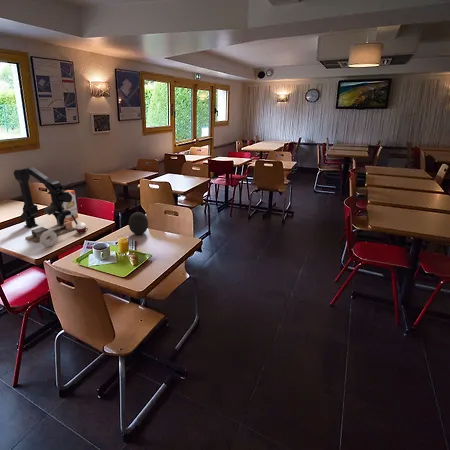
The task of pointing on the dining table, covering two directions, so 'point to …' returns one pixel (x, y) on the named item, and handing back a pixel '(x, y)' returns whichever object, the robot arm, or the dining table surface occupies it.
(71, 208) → the cracker box
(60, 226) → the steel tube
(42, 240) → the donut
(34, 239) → the base board
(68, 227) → the socket block
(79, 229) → the cocoa
